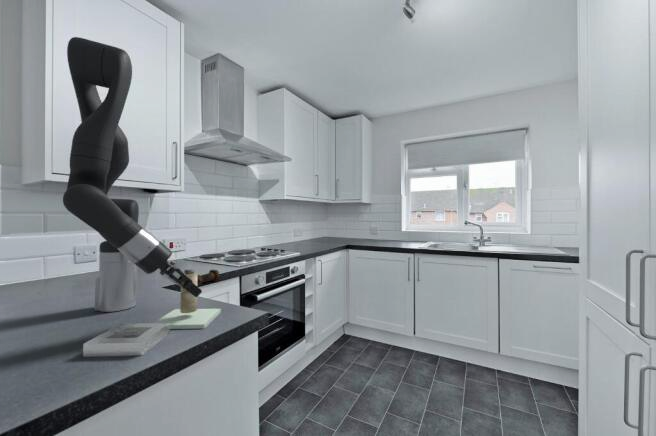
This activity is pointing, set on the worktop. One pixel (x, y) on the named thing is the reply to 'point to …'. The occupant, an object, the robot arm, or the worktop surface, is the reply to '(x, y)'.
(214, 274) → the bolt
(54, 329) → the worktop surface
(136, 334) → the grey square frame
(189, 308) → the key peg
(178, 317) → the set down board
